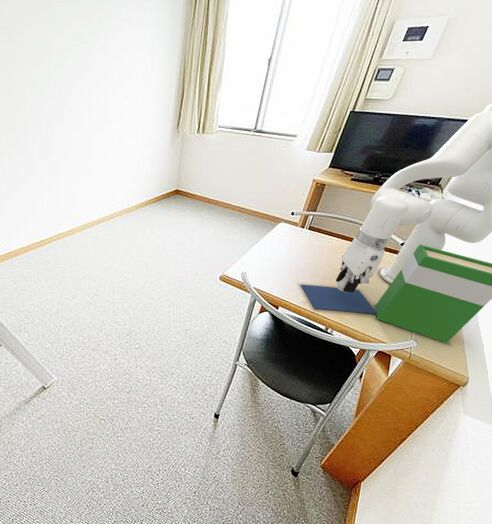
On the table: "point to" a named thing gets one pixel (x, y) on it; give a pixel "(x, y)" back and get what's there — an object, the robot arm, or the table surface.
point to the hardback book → (436, 293)
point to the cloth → (337, 299)
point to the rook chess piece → (344, 280)
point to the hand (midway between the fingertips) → (344, 286)
